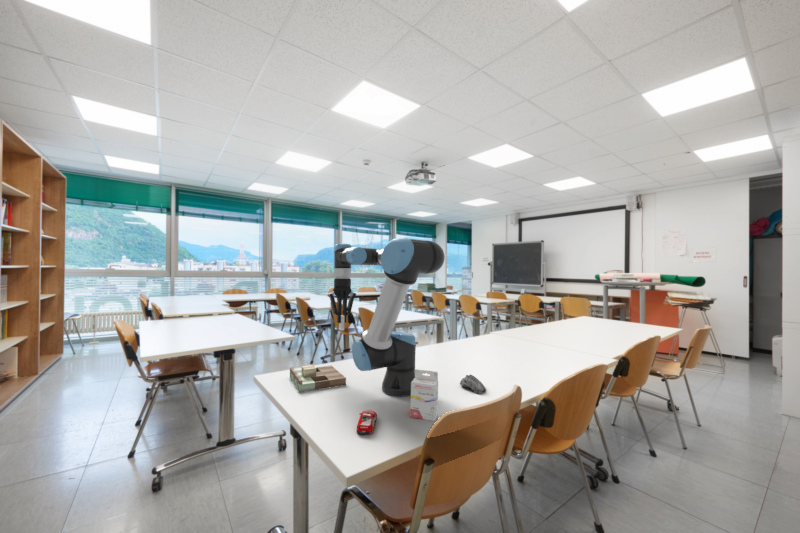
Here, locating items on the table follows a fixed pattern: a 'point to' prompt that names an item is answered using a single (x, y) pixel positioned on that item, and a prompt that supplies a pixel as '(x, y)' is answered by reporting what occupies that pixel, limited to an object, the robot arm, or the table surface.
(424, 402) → the ink cartridge box
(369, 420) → the race car
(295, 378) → the multicoloured piece
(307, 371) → the birch block
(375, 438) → the table surface
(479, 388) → the fossilized seashell
